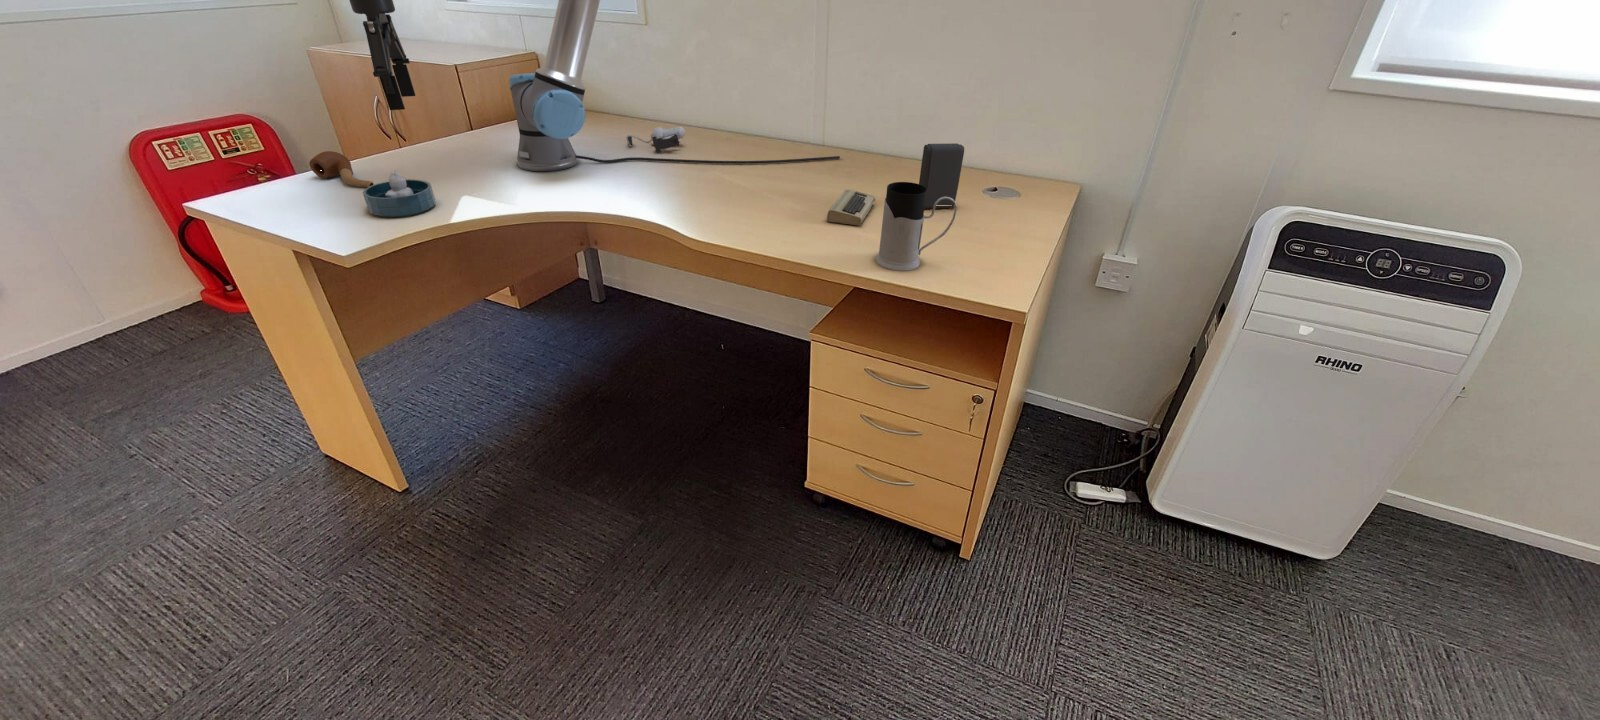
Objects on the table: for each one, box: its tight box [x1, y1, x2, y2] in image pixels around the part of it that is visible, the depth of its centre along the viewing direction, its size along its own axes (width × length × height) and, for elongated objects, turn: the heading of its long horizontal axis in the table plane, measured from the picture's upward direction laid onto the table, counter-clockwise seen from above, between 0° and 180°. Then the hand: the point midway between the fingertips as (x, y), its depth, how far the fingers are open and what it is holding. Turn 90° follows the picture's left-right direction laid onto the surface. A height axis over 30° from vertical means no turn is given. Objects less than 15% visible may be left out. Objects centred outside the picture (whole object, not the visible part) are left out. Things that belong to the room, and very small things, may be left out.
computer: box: [826, 189, 876, 227], centre depth 150 cm, size 16×8×3 cm, turn 163°
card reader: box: [918, 142, 965, 210], centre depth 153 cm, size 9×4×15 cm, turn 100°
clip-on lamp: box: [626, 126, 686, 154], centre depth 192 cm, size 12×6×18 cm
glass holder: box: [875, 181, 958, 272], centre depth 125 cm, size 9×14×15 cm, turn 85°
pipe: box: [308, 150, 375, 188], centre depth 157 cm, size 7×19×6 cm, turn 65°
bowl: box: [362, 178, 437, 218], centre depth 143 cm, size 13×13×4 cm
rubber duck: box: [385, 169, 413, 198], centre depth 141 cm, size 5×7×8 cm
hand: (403, 102), depth 140 cm, fingers open, 13 cm apart
